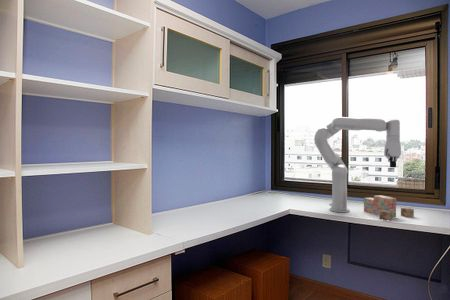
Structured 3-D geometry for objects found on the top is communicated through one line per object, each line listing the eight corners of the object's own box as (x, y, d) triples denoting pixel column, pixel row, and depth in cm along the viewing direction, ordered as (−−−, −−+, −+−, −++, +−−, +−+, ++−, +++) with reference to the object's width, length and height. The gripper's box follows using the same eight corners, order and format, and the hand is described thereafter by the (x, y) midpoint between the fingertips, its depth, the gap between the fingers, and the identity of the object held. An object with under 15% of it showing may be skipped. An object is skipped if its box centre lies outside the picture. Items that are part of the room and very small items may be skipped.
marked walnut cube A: (379, 219, 180) (379, 210, 180) (384, 218, 183) (384, 209, 183) (387, 220, 176) (387, 212, 176) (392, 219, 179) (392, 211, 179)
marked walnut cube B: (400, 215, 190) (400, 207, 190) (407, 215, 191) (408, 207, 191) (406, 217, 185) (406, 209, 185) (413, 217, 186) (413, 209, 186)
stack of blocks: (363, 211, 203) (363, 193, 203) (371, 210, 205) (371, 193, 205) (388, 218, 183) (388, 198, 183) (396, 217, 184) (396, 198, 184)
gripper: (395, 139, 197) (395, 166, 197) (379, 139, 191) (379, 167, 191) (406, 138, 190) (406, 167, 190) (389, 138, 184) (389, 168, 184)
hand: (393, 167), depth 190 cm, fingers closed
